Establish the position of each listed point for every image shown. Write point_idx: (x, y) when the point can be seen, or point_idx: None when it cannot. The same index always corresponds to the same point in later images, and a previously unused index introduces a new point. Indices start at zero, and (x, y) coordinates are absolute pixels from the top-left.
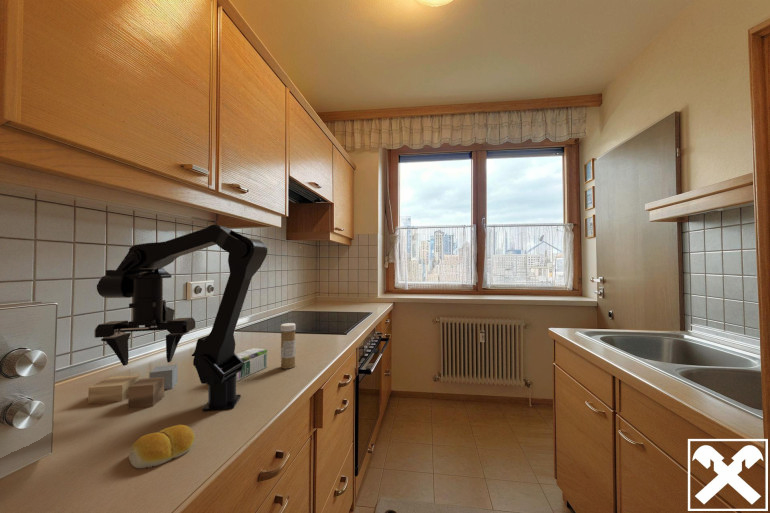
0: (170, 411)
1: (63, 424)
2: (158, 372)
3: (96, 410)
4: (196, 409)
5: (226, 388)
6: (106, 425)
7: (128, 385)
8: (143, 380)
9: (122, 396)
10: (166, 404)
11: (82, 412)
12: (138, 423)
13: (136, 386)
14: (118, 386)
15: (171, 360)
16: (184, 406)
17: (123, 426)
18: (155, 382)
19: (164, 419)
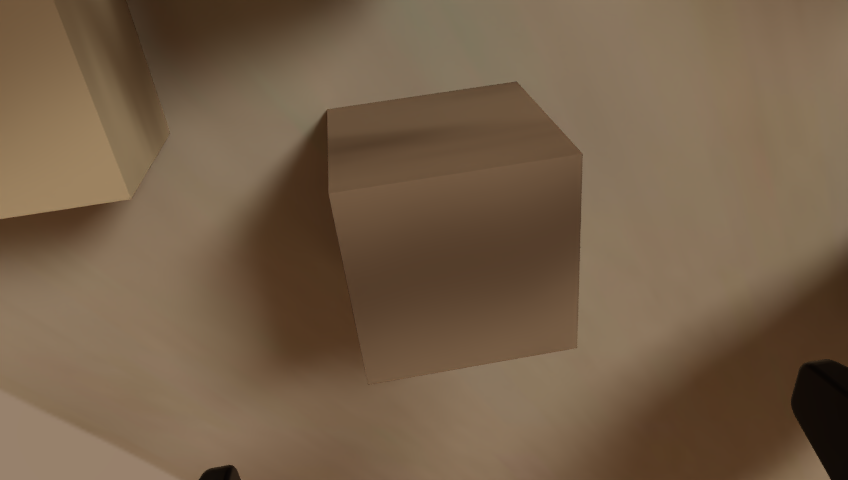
0: (674, 312)
1: (120, 439)
2: None
3: (128, 290)
4: (820, 292)
5: None
6: (400, 441)
7: (103, 71)
8: (398, 245)
9: (161, 146)
10: (604, 219)
11: (48, 315)
12: (560, 422)
13: (436, 371)
14: (92, 197)
15: (835, 364)
16: (739, 253)
17: (501, 446)
18: (567, 299)
19: (677, 389)
